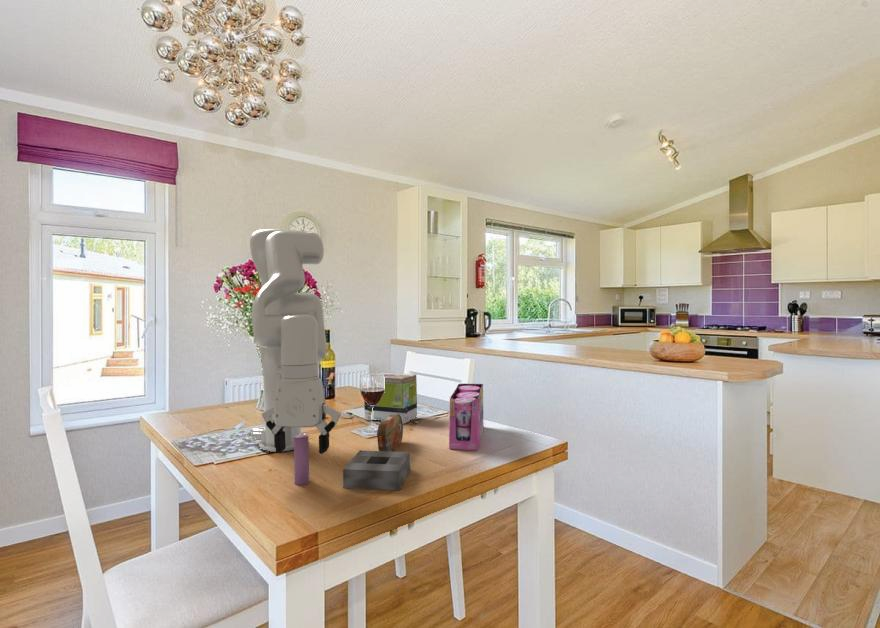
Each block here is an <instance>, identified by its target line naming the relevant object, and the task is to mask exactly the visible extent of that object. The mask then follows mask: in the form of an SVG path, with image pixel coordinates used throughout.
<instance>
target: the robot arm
mask: <svg viewBox="0 0 880 628" xmlns="http://www.w3.org/2000/svg"><path fill="white" fill-rule="evenodd" d="M249 249H250V255H251V259H252V262H253V264H254V267H255V270H256V271H257V274H258V276H259V278H260V285H261V288H260V289H259V291H258V292H257V293H256V295H255V296H254V299H253V302H252V306H251V321H252V331H253V334H252V335H253V338H254V339H253V340H254V341H255V344H256V345H257V346H258V347H259V348H258V349H259V354H260V360H261V366H262V376H263V377H262V379H263V406H264V407H263V412H262V413H261V416H262V419H263V421H264V428H263V429H261V428H253V429H252V432H251V437H252V438H255V439H256V438H260V441H259V442H258V448H259V447H260V448H261V449H264V450H269V451H270V452H271V453H276V454H280V453H281V452H289V451H294V437H295V436H297V435H302V428H316V429H317V430H318V432H319V433H320V434H319V435H318V453H319V454H320V455H324V454H325V453H326V452H328V449H329V448H330V432H331V431H332V429H334V428H335V427H336V426H337V425H338V422H339V421H340V418H341V412H340V411H338V410H336V409H334V408H333V407H331V406H329V405H327V404H326V397H325V396H326V395H325V389H324V385H323V381H322V377H319V362H321V361H323V360H324V359H325V358H326V355H327V338H326V329H325V320H324V309H323V305H322V304H323V303H322V301H321V299H320V297H319V296H318V295H317V294H315V293H311V292H299V291H301V290H302V288H303V287H304V285H305V283H306V277H305V272H304V265H319V264H320V263H321V262H322V261H323V259H324V253H325V252H324V250H325V249H324V244H323V240H322V238H321V237H320V235H319V233H316V232H312V231H306V230H290V229H278V228H277V229H276V228H270V229H269V228H266V229H263V228H262V229H258V230H256V231H254V232H253V233H252V234H251V236H250V239H249ZM327 415H328V416H330V417H331V419H330V422H327V421H326V418H327ZM260 448H259V449H260ZM261 449H260V450H261ZM269 451H268V452H269Z"/></svg>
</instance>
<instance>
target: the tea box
mask: <svg viewBox="0 0 880 628" xmlns="http://www.w3.org/2000/svg"><path fill="white" fill-rule="evenodd" d="M381 373H382V374H383V375H384V377H385V393H384V394H383V397H382V399H381V400H380V402H379V403H378V404H377V405H375V406H374V408H373V411H374V419H376V420H382V421H383V420H384V419H385V418H387V417H388V416H389V415H396V414H399V415H400V416H401V419H402V424H403V425H404V424H406V423H409V422H411V421H410V419H412V418H414V417H416V416H417V417H418V392H417V391H418V389H417V374H414V373H397V372H395V373H393V372H391V373H390V372H381ZM363 402H364V404H363V405H364V420H365V421H372V420H371V413H372V407H371V406H370V405H368V404H367V403H366V402H365V401H364V400H363ZM382 421H381V422H382Z"/></svg>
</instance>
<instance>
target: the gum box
mask: <svg viewBox="0 0 880 628" xmlns="http://www.w3.org/2000/svg"><path fill="white" fill-rule="evenodd" d="M448 428H449V429H448V450H460V451H463V450H464V451H478V450H479V446H480V442H481V440H482V439H481V438H482V435H483V431H484V383H458V384H457V386H456V388H455V389H454V391H453V393H452V394H451V396H450V397H449V425H448Z"/></svg>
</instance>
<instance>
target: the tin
mask: <svg viewBox="0 0 880 628" xmlns="http://www.w3.org/2000/svg"><path fill="white" fill-rule="evenodd" d="M403 425H404V424H402V419H401V416H400V415H399V414H396V415H389V416H388V417H387V418H385V419H384V420H383V421H380V423H379V425H378V428H377V433H376V436H377V449H378V451H391V452H396V450H397V448H398V447H400V445H401V444H402V440H403V433H404V426H403Z"/></svg>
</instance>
